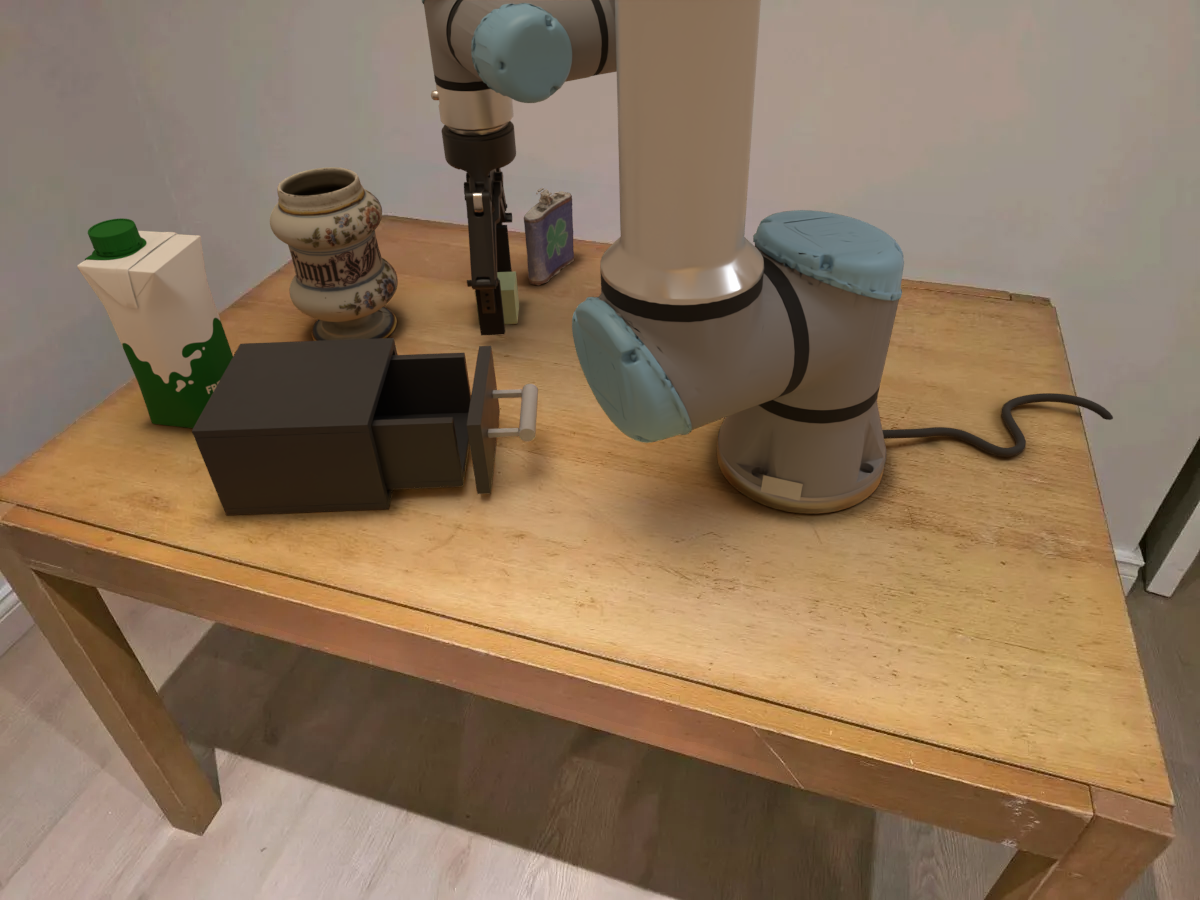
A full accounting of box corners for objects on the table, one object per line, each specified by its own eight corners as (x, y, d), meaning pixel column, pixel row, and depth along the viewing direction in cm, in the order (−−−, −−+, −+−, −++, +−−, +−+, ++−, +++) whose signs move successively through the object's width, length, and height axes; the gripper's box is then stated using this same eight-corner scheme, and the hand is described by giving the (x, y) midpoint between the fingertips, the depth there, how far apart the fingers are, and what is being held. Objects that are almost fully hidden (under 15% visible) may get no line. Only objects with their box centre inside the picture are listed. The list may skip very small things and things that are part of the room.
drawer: (542, 409, 87) (536, 343, 83) (538, 492, 78) (531, 422, 73) (365, 416, 87) (349, 350, 83) (339, 499, 78) (319, 430, 73)
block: (519, 304, 106) (516, 271, 103) (517, 323, 102) (514, 289, 100) (482, 306, 106) (478, 272, 103) (479, 325, 102) (474, 291, 100)
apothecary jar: (341, 296, 109) (306, 154, 97) (424, 312, 105) (398, 166, 94) (280, 346, 100) (234, 195, 89) (369, 364, 96) (333, 210, 85)
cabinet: (410, 418, 88) (394, 337, 82) (388, 509, 78) (367, 424, 72) (267, 423, 88) (240, 343, 82) (225, 515, 78) (191, 431, 72)
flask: (541, 287, 109) (534, 206, 102) (521, 282, 110) (514, 201, 104) (579, 257, 115) (575, 178, 108) (560, 253, 116) (555, 175, 110)
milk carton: (187, 380, 95) (118, 206, 82) (262, 388, 93) (204, 211, 81) (138, 428, 88) (55, 247, 76) (219, 437, 87) (148, 254, 74)
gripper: (453, 85, 99) (474, 254, 113) (425, 171, 80) (454, 362, 94) (519, 83, 100) (532, 252, 113) (506, 168, 80) (524, 360, 94)
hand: (497, 303), depth 104 cm, fingers open, 13 cm apart
